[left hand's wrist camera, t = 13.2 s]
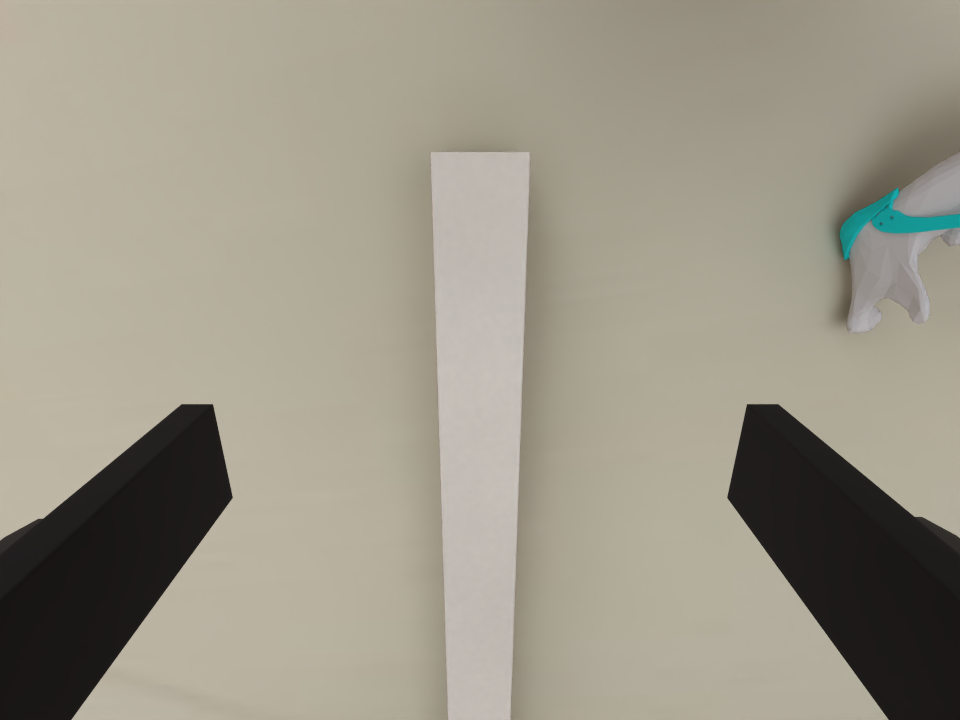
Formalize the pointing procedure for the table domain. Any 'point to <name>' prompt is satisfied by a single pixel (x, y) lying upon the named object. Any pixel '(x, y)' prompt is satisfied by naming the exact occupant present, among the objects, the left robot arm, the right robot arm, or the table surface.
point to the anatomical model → (900, 243)
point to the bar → (479, 414)
